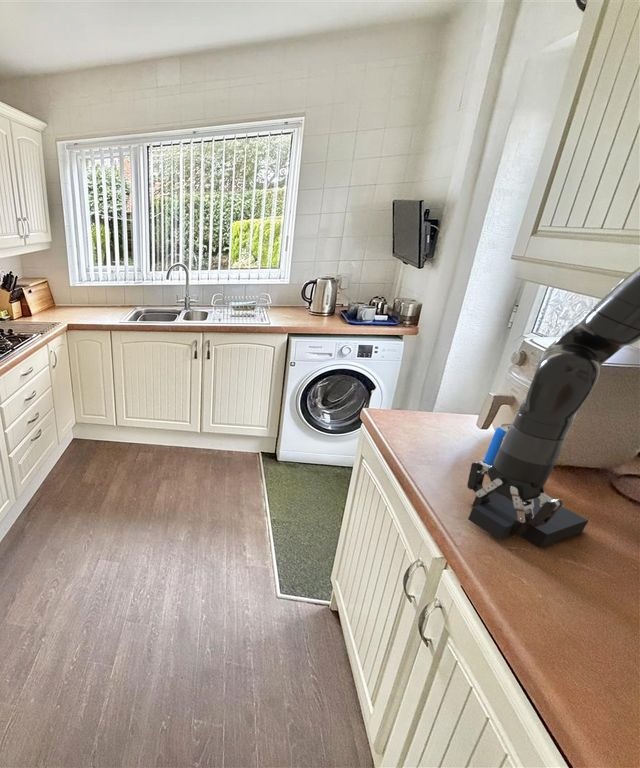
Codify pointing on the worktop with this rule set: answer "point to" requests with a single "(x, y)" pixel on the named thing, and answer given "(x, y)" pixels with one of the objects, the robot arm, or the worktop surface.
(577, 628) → the worktop surface
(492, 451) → the beverage can
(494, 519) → the pad
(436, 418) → the worktop surface
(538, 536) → the base pad
